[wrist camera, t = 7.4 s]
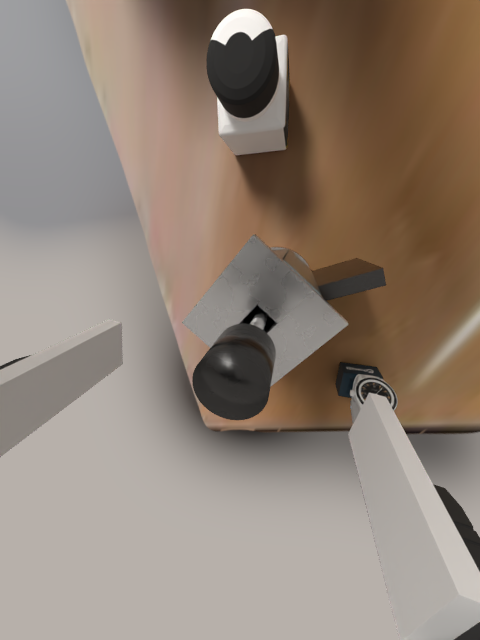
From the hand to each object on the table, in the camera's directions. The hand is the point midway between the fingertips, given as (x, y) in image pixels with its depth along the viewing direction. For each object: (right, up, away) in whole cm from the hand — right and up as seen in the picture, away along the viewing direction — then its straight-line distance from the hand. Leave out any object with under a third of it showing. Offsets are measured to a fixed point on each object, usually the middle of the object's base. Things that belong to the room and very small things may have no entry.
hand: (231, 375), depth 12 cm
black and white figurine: (+3, +29, +18) cm, 34 cm away
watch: (+20, -6, +26) cm, 33 cm away
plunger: (+5, +7, +21) cm, 23 cm away
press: (+8, +10, +23) cm, 26 cm away
